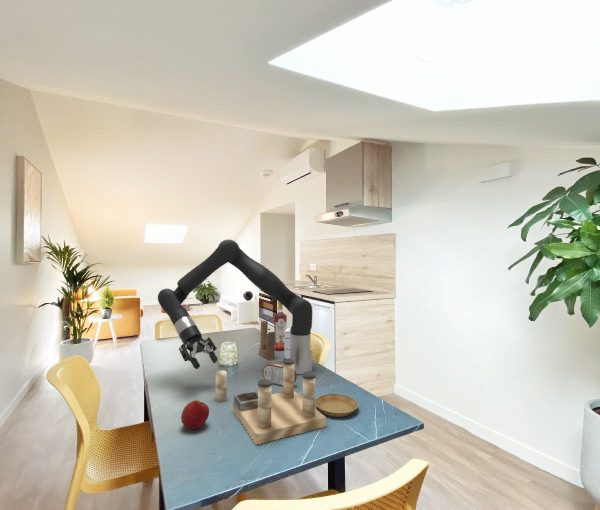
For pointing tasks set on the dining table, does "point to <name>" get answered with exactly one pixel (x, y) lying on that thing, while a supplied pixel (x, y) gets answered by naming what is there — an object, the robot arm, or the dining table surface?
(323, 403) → the plant saucer
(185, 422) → the apple
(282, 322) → the liquor
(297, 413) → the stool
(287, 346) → the syrup box
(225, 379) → the birch leg
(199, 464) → the dining table surface
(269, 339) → the wooden block
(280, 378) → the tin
